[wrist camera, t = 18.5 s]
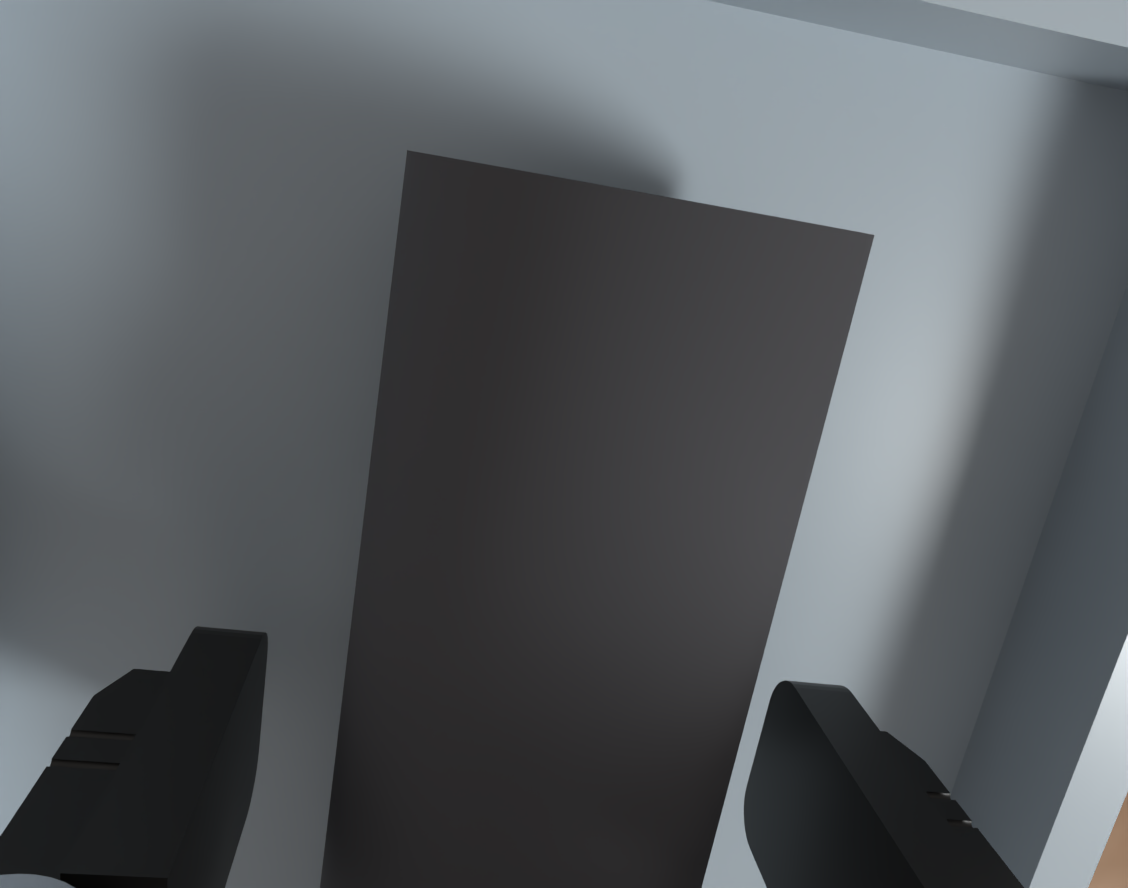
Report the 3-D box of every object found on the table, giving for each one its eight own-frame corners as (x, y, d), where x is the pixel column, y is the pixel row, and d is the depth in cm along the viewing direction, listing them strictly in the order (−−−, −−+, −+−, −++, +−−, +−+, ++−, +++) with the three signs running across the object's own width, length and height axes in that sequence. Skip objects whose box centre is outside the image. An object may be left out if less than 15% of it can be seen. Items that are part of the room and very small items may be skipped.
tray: (-130, -266, 8) (-346, -422, 6) (1233, 49, 11) (1445, 20, 8) (-66, 1317, 14) (-164, 1534, 12) (793, 1293, 17) (847, 1471, 14)
